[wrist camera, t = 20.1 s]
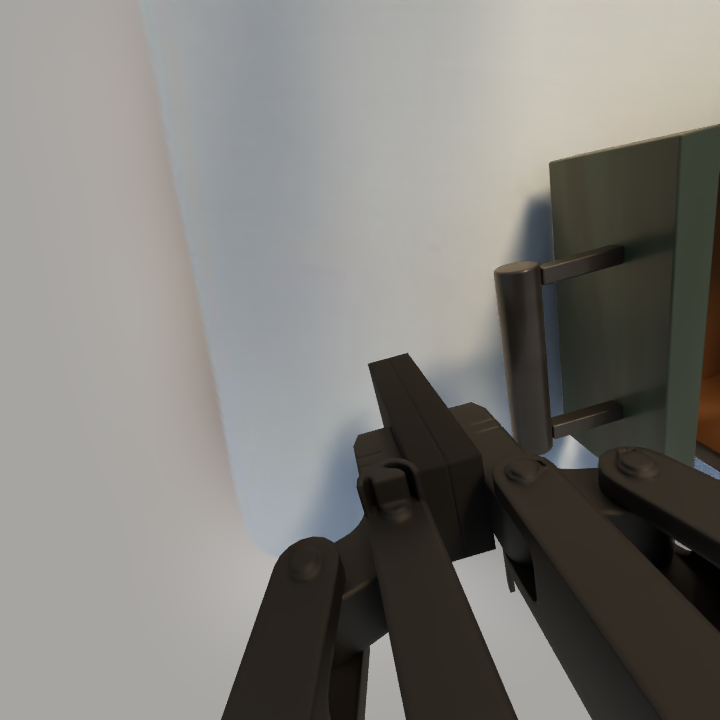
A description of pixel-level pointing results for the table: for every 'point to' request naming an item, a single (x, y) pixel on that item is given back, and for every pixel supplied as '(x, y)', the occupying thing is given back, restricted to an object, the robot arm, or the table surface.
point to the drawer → (624, 303)
